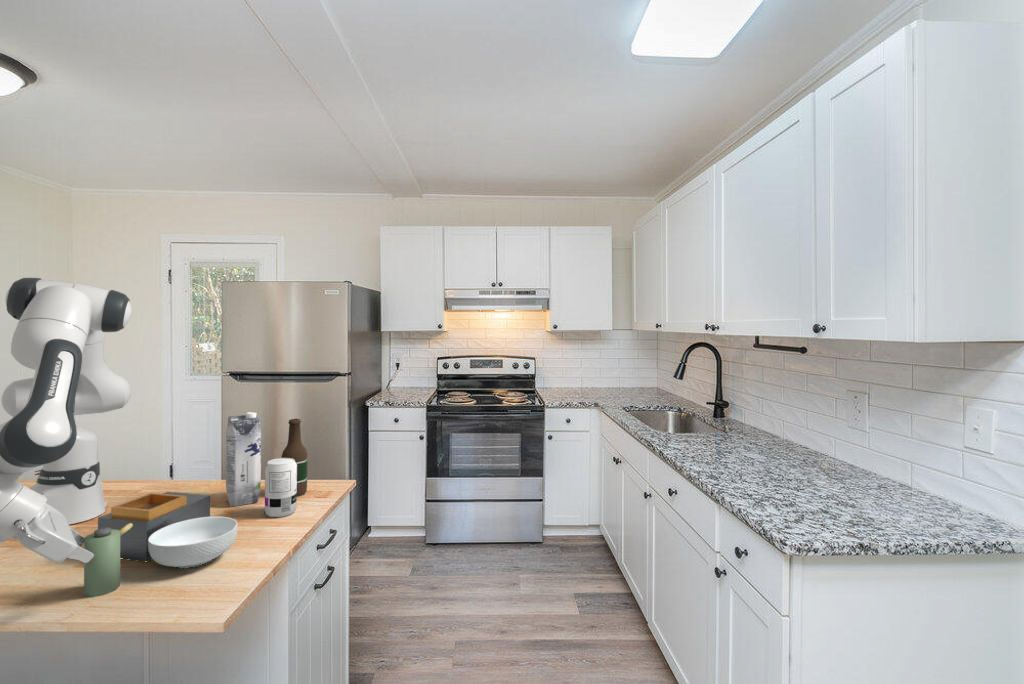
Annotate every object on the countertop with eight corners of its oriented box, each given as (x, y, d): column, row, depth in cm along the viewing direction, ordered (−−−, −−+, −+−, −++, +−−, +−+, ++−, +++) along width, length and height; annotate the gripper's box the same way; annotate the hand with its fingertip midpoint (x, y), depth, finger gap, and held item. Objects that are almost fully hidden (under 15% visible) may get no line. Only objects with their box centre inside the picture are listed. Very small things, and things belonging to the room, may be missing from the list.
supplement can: (258, 515, 134) (258, 462, 134) (282, 505, 142) (282, 456, 141) (279, 520, 131) (279, 466, 131) (302, 510, 139) (303, 459, 138)
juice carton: (227, 509, 138) (227, 417, 138) (225, 498, 147) (226, 411, 146) (261, 503, 143) (262, 414, 143) (257, 493, 152) (258, 409, 151)
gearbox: (86, 555, 109) (86, 507, 109) (157, 524, 127) (157, 482, 127) (146, 562, 107) (146, 512, 106) (210, 529, 124) (210, 487, 124)
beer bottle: (297, 499, 148) (297, 422, 147) (275, 496, 149) (275, 420, 149) (312, 490, 155) (313, 417, 155) (291, 488, 157) (291, 416, 156)
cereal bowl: (243, 539, 119) (243, 511, 119) (229, 571, 103) (229, 539, 103) (162, 549, 113) (162, 519, 113) (134, 584, 97) (134, 550, 97)
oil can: (86, 600, 92) (86, 538, 91) (82, 589, 95) (82, 529, 95) (135, 585, 97) (135, 526, 97) (129, 575, 101) (129, 519, 101)
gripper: (36, 514, 81) (111, 552, 88) (28, 486, 94) (93, 521, 102) (-2, 549, 77) (78, 585, 85) (-5, 515, 91) (65, 548, 99)
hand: (86, 550), depth 93 cm, fingers open, 8 cm apart
